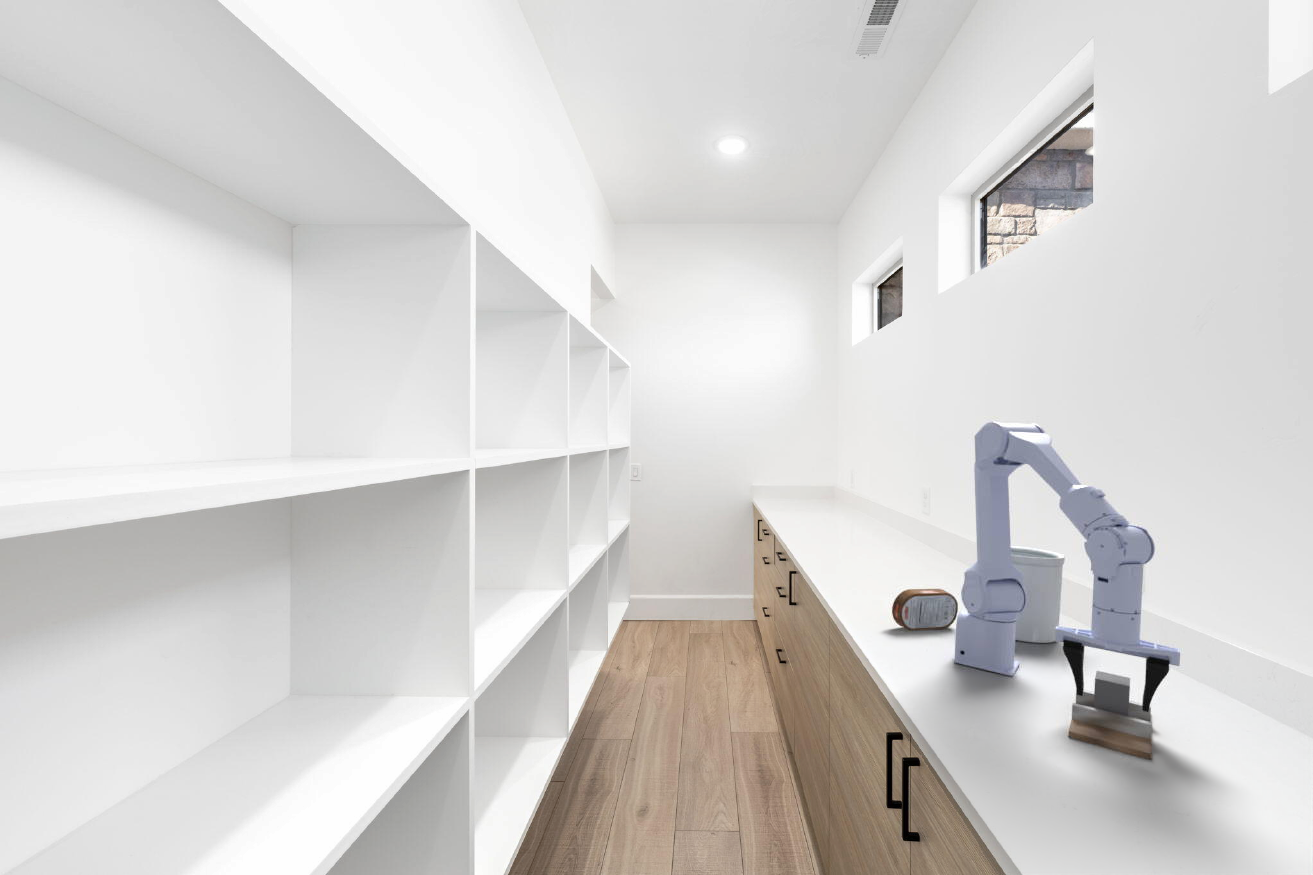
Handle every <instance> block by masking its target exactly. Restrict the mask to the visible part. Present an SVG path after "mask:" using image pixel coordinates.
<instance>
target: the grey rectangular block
mask: <svg viewBox="0 0 1313 875" xmlns="http://www.w3.org/2000/svg"><path fill="white" fill-rule="evenodd" d="M1094 676H1095V677H1094V691H1093V692H1094V708H1096V709H1100V710H1104V711H1108V712H1112V713H1116V714H1120V715H1124V716H1128V715H1129V701H1130V693H1131V691H1130V690H1131V677H1127V676H1125V675H1124V676H1123V675H1119V674H1113V673H1109V672H1104V671H1100V670H1096V671H1095V675H1094Z"/></svg>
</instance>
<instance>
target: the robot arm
mask: <svg viewBox="0 0 1313 875" xmlns="http://www.w3.org/2000/svg"><path fill="white" fill-rule="evenodd" d="M1052 441H1053V440H1052V437H1051V436H1050V435H1049V434H1048V433H1047V432H1045V429H1044V428H1043V427H1041V426H1040V425H1039V424H1036V423H1007V422H1006V423H1003V422H997V421H989V422H987V423H985V424H984V425H983V426H982V427H981V428H980V429H979V431H977V433H976V434H975V435H974V454H975V455H974V456H975V457H974V460H975V462H974V467H973V469H974V471H973V472H974V495H975V496H974V497H975V528H976V529H975V530H976V558H977V561H976V562H975V563H974V564H972V565H971V566H970V567H969V568H968V569H966V570H965V571H964V573H963V574H964V581H963V584H962V587H961V590H960V591H961V592H960V594H961V596H960V597H961V602H962V604H963V606H964V608H965V610H960V611H959V612H958V613H957V617H956V625H955V641H954V642H955V643H954V644H955V645H954V659H953V662H954V663H955V664H960V665H964V666H967V667H972V668H976V669H981V670H985V671H989V672H993V673H996V674H1001V675H1005V676H1010V677H1012V676H1014V674H1015V673H1016V671H1017V669H1018V667H1019V666H1020V661H1018V660H1015V651H1016V650H1015V649H1016V640H1015V633H1016V619H1019V618H1020V613H1022V612H1023V611H1024V610H1025V609H1026V607H1027V604H1028V595H1027V591H1026V589H1025V587H1024V583H1023V574H1022V573H1021V572H1020V571H1019V570H1018V569H1017V568H1015V567H1014V566H1013V565H1012V563H1011V546H1012V545H1011V519H1010V496H1009V494H1010V491H1009V477H1010V475H1011V474H1013V473H1014V472H1015V470H1017V469H1019V468H1021V467H1022V466H1025V465H1028V466H1030V467H1031V469H1032V470H1033V471H1035V472H1036V473H1037V475H1038V476H1039V477H1040V478H1042V480H1043V481H1044V482H1045V483H1046V484H1047V485H1048V486H1049V487H1050V488H1051V489H1052V490H1053V491H1054V492H1055V493H1056V494H1057V495H1058V496H1059V497H1060V500H1059V502H1058V503H1059V508H1060V510H1061V512H1062V513H1063V514H1064V515H1065V517H1067V519H1068V520H1069V521H1070V522H1071V523H1072V525H1073V526H1074V528H1076V529H1077V531H1078V532H1079V533H1080V534H1081V535H1082V537H1083V538H1084V539H1085V541H1084V543H1083V544H1084V545H1083V546H1084V550H1085V553H1086V555H1087V557H1088V558H1089V560H1090V571H1091V572H1092V574H1093V581H1092V582H1093V584H1092V586H1093V587H1092V603H1091V604H1092V605H1091V608H1092V609H1091V628H1090V629H1083V628H1082V629H1081V628H1074V627H1066V626H1061V625H1059V626H1056V628H1055V641H1054V642H1057V643H1062V651H1063V653H1064V656H1065V658H1066V661H1067V662H1068V665H1069V666H1070V667H1069V668H1070V670H1071V672H1072V676H1073V680H1074V682H1075V690H1077V695H1080V696H1083V690H1085V689H1084V688H1085V687H1084V686H1085V682H1084V680H1085V679H1084V662H1085V661H1084V660H1085V647H1089V648H1093V649H1099V650H1104V651H1108V652H1113V653H1119V654H1123V655H1127V656H1133V657H1138V658H1143V659H1145V676H1144V678H1145V680H1144V688H1143V693H1142V702H1141V703H1142V711H1146V712H1149V707H1150V706H1151V702H1152V699H1153V697H1154V695H1155V694H1156V691H1157V689H1158V688H1159V686H1160V685H1161V683H1162V682H1163V681H1164V679H1165V678H1166V677H1167V675H1168V674H1169V671H1170V666H1176V667H1180V666H1181V665H1180V662H1181V650H1180V648H1175V647H1172V646H1171V647H1170V646H1166V645H1164V644H1163V645H1162V644H1160V643H1154V642H1150V641H1147V640H1143V639H1141V621H1142V619H1141V618H1142V604H1143V602H1142V600H1143V581H1144V565H1146V564H1148V563H1149V562H1150V561H1151V560H1152V559H1153V557H1154V555H1155V549H1156V547H1155V542H1154V539H1153V538H1152V536H1151V535H1150V534H1149V532H1148V530H1147V529H1146V528H1144V527H1142V526H1140V525H1136V524H1132V523H1130V521H1129V520H1127V519H1126V517H1125V516H1124V515H1122V514H1120V513H1119V512H1118V511H1117V510H1116V509H1115V508H1114V507H1113V506H1112V504H1111V503H1109V501H1108V500H1107V499H1106V498H1105V497H1106V494H1105V493H1104V491H1103V490H1102V489H1099V488H1096V487H1094V486H1091V485H1082V484H1081V482H1080V481H1079V479H1078V478H1077V477H1076V476H1075V474H1074V473H1073V472H1072V470H1071V469H1070V468H1069V467H1068V465H1067V464H1066V463H1065V462H1064V460H1063V459H1062V457H1061V456H1060V455H1059V454H1058V453H1057V451H1056V450H1055V449H1054V447H1053V446H1052ZM990 579H999V580H990Z"/></svg>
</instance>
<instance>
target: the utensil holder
mask: <svg viewBox="0 0 1313 875" xmlns="http://www.w3.org/2000/svg"><path fill="white" fill-rule="evenodd" d="M1065 560H1066V559H1065V555H1064V554H1061V553H1058V552H1054V551H1050V550H1045V549H1040V548H1039V549H1038V548H1033V547H1026V546H1024V547H1023V546H1014V545H1011V563H1012V565H1013V566H1014V567H1015V568H1017V569H1018V570H1019V571H1020V572H1021V573H1022V574H1023V583H1024V587H1025V589H1026V591H1027V595H1028V604H1027V607H1026V609H1025V610H1024V611H1023V612H1022V613H1020V618H1019V619H1016V633H1015V641H1019V642H1025V643H1036V644H1049V643H1053V642H1056V641H1055V628H1056V626H1060V617H1061V616H1060V615H1061V614H1060V613H1061V601H1062V600H1061V598H1062V584H1063V566H1064V564H1065ZM990 580H999V579H990Z"/></svg>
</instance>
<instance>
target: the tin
mask: <svg viewBox="0 0 1313 875" xmlns="http://www.w3.org/2000/svg"><path fill="white" fill-rule="evenodd" d="M958 604H959V602H958V601H957V599H956V597H955V596H954V595H953V594H951V593H950V592H948V591H946V590H944V589H942V588H910V589H905V590H903V591H902V592H900V593H899V594H898V595H897V596H896V597H895V599H894V601H893V604H892V607H891V615H892V617H893V620H894V622H895V623H896V624H897V625H899V626H900V627H902V628H904V629H906V630H909V631H931V630H943V629H947V628H949V627H950V626H951V625H953V624H954V622H955V621H956V620H957V617H958V613H959V612H958V611H959V608H958V607H959V605H958Z"/></svg>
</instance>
